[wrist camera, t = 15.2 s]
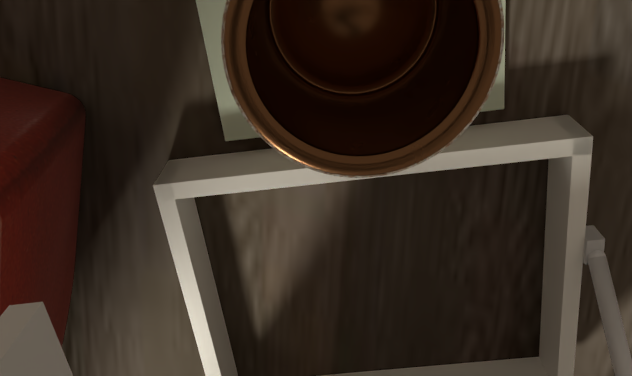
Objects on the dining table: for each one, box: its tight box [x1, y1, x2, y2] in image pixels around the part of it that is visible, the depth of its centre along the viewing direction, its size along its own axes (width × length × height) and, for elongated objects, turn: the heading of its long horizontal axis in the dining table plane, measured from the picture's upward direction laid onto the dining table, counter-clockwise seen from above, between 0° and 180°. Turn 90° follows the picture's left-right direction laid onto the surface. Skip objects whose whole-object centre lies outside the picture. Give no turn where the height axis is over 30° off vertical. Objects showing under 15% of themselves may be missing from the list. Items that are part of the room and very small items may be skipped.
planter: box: [221, 0, 504, 178], centre depth 26 cm, size 11×11×10 cm
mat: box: [196, 0, 506, 141], centre depth 31 cm, size 16×13×1 cm
